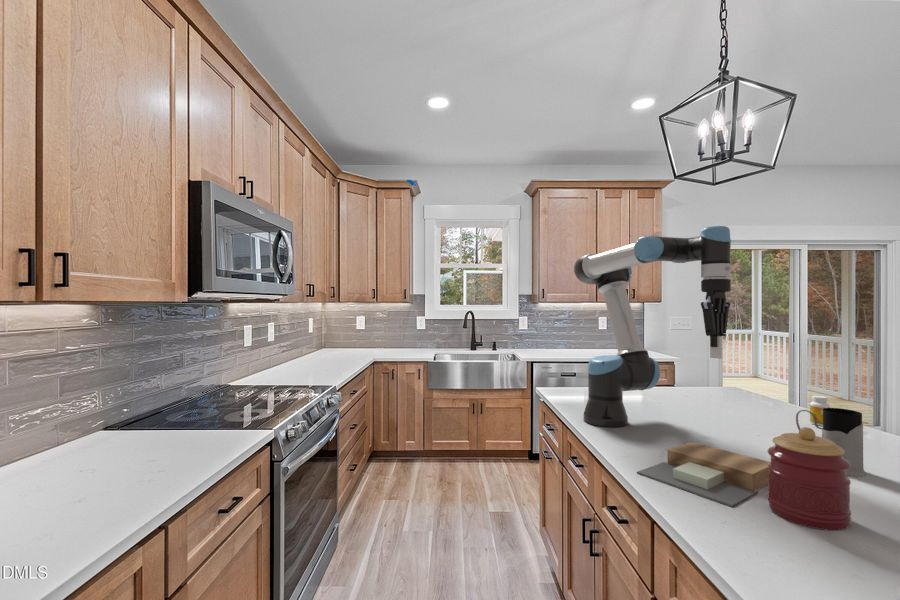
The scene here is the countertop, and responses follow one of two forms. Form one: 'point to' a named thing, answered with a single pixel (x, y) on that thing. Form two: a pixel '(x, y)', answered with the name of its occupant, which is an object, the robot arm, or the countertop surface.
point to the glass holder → (844, 435)
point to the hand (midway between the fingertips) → (716, 357)
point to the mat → (719, 493)
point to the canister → (809, 480)
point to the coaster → (698, 475)
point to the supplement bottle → (818, 409)
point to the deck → (723, 464)
